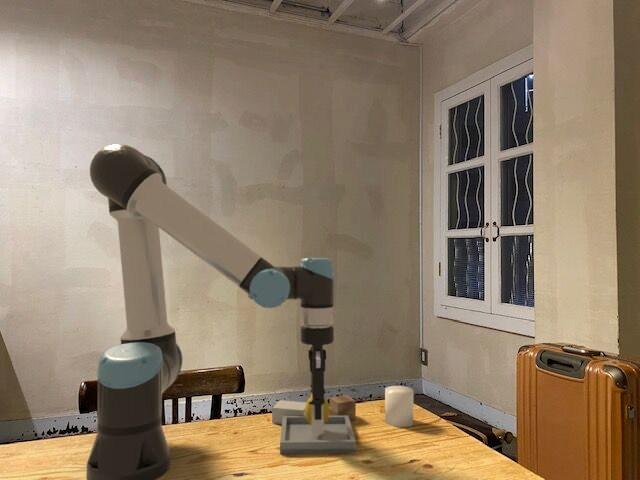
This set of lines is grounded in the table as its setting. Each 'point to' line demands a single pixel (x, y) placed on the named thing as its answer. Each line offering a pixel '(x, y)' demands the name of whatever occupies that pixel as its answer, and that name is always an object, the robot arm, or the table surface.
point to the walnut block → (343, 407)
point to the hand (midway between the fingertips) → (317, 427)
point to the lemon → (309, 411)
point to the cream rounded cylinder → (399, 406)
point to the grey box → (287, 410)
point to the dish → (316, 436)
